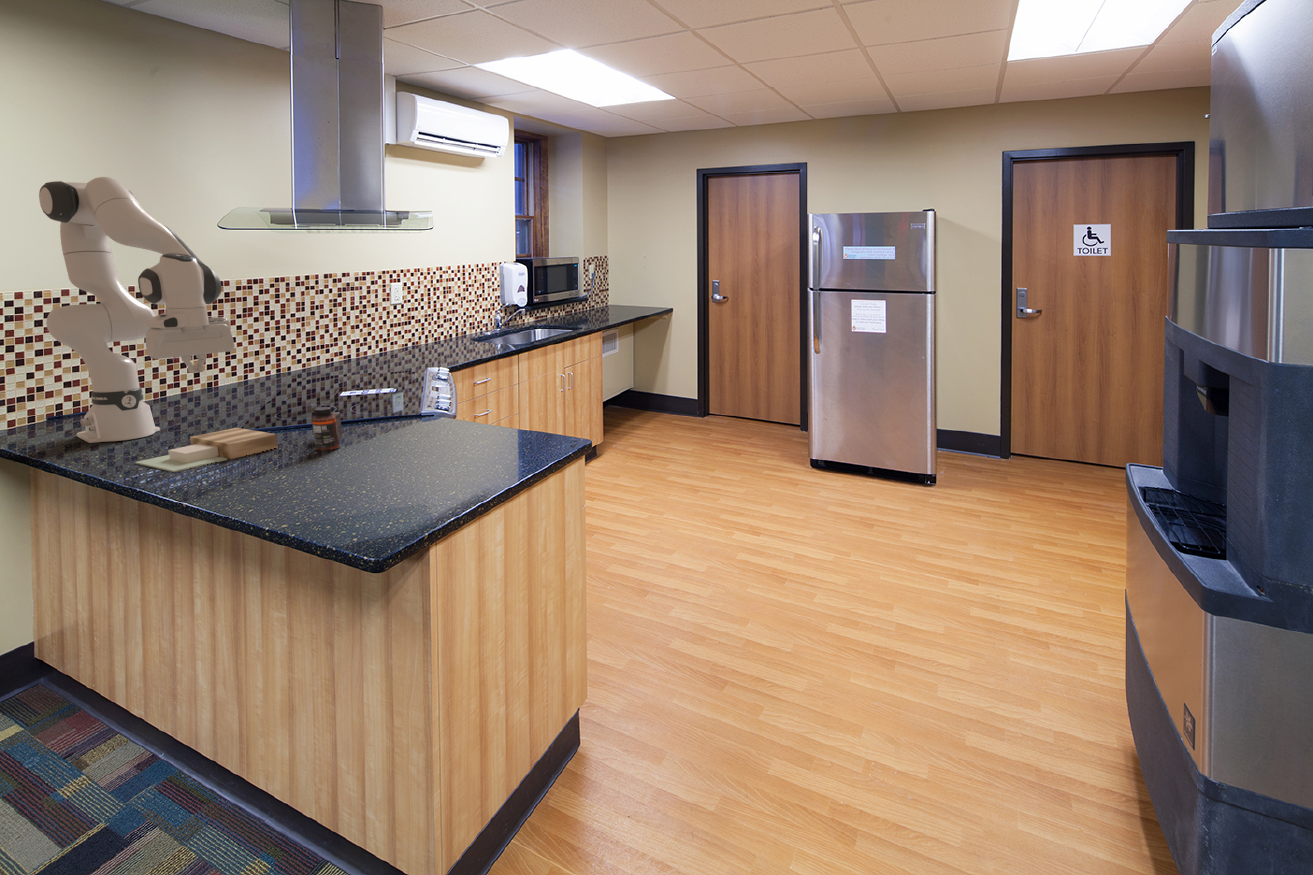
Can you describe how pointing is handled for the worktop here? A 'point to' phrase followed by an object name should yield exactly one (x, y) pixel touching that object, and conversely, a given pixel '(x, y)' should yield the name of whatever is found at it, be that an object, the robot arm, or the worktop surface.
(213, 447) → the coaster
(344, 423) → the worktop surface
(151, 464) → the mat
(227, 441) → the serving board
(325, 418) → the supplement bottle
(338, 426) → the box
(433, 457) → the worktop surface
